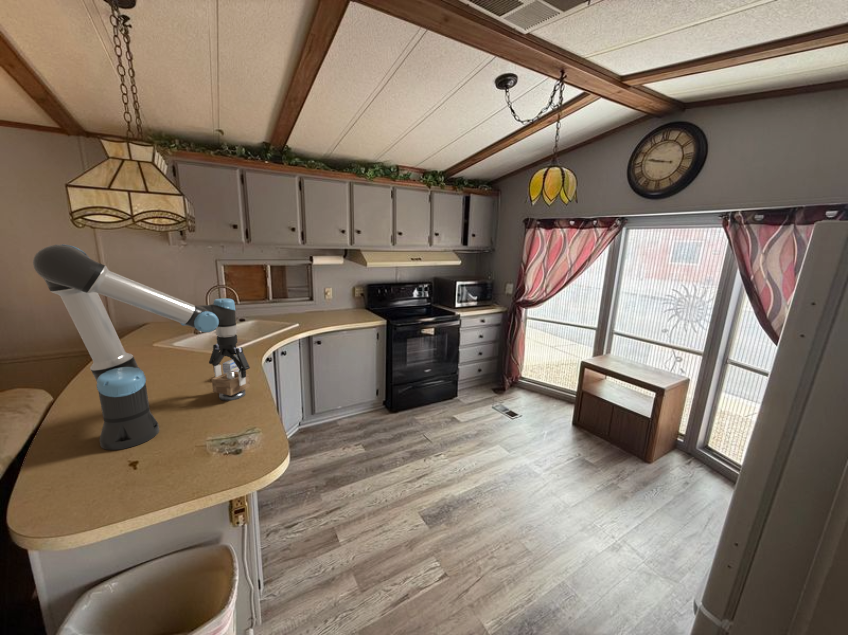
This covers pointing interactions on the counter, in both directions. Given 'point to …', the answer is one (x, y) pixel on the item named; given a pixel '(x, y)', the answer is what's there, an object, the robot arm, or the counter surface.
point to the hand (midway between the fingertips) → (230, 382)
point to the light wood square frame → (229, 384)
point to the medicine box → (230, 366)
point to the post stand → (236, 396)
